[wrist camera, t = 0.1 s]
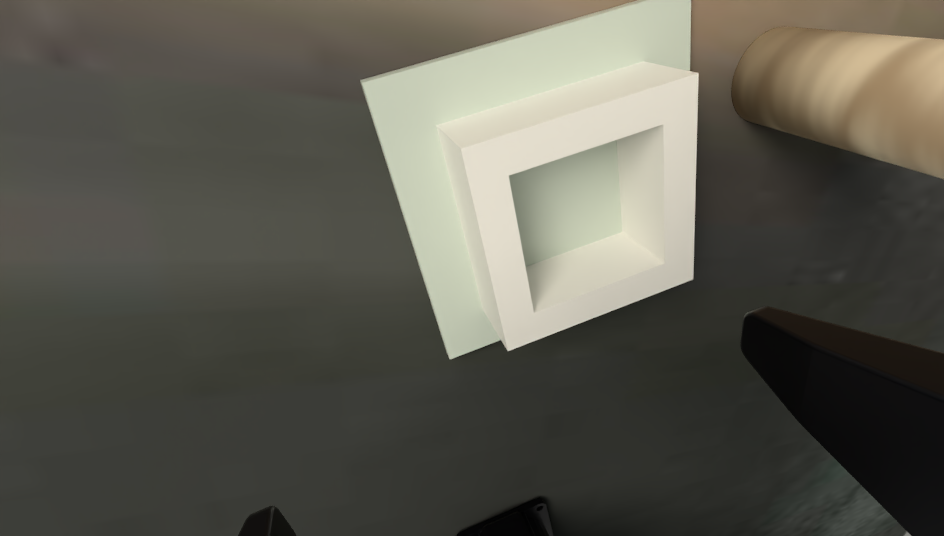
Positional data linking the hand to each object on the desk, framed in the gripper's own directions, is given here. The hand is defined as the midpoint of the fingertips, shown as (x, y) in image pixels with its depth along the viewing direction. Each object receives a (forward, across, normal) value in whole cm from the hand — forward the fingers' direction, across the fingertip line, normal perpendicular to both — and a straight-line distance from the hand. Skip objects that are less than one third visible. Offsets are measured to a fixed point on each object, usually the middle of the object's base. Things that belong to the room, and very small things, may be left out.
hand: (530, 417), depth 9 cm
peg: (+15, -19, +1) cm, 24 cm away
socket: (+15, -7, +3) cm, 16 cm away
